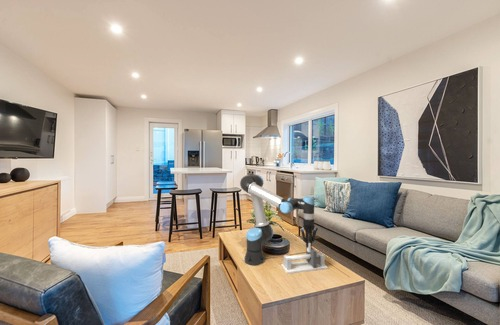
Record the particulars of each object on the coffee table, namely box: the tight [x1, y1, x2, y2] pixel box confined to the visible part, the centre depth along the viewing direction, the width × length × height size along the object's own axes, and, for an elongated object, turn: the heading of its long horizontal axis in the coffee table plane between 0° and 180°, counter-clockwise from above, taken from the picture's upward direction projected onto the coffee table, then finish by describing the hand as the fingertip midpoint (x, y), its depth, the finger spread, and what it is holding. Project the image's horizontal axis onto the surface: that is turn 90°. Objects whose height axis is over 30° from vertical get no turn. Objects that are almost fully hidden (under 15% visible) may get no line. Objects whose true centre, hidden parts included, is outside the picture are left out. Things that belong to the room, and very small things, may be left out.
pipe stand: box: [280, 251, 329, 275], centre depth 165 cm, size 30×12×9 cm, turn 102°
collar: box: [305, 246, 318, 267], centre depth 166 cm, size 2×11×11 cm, turn 12°
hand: (308, 251), depth 165 cm, fingers closed
